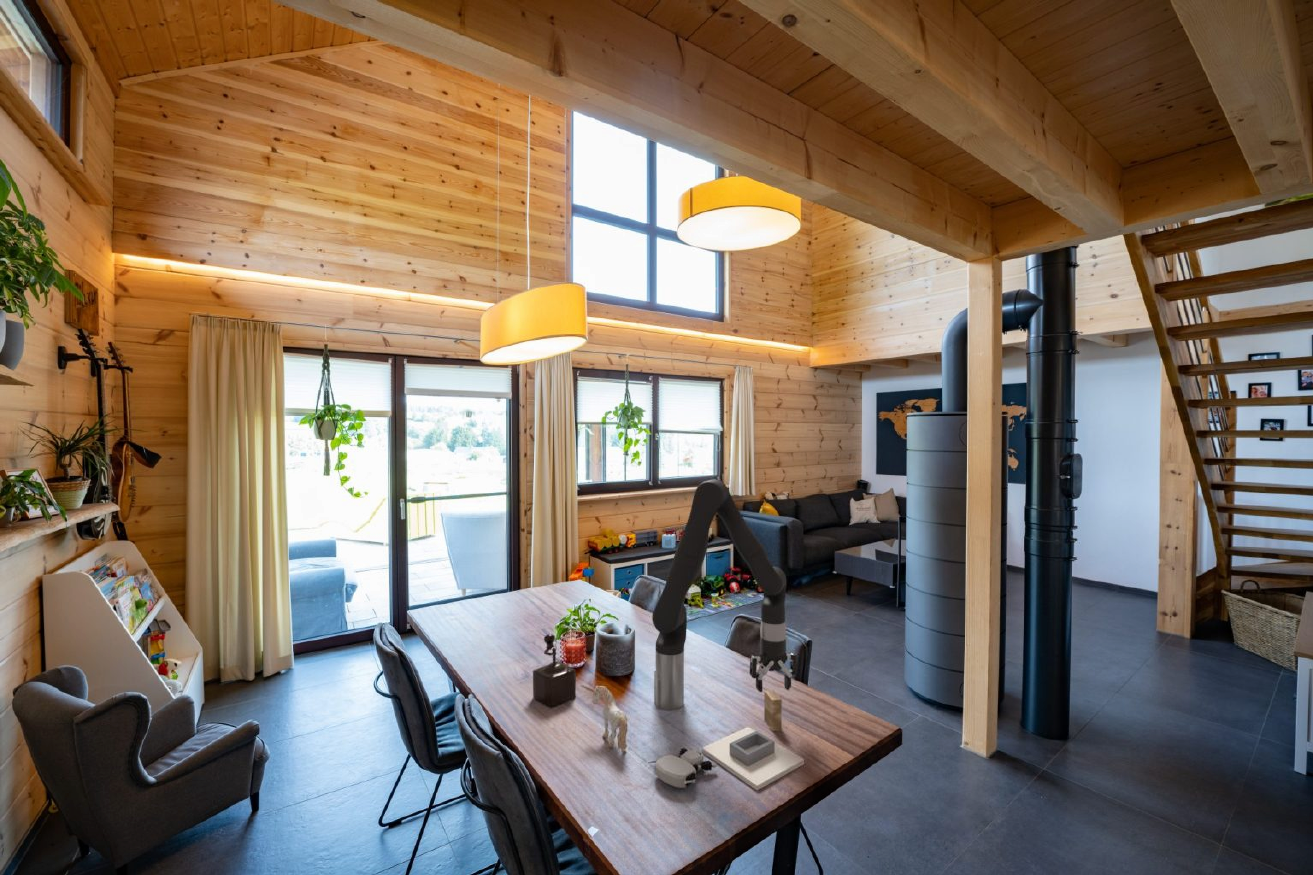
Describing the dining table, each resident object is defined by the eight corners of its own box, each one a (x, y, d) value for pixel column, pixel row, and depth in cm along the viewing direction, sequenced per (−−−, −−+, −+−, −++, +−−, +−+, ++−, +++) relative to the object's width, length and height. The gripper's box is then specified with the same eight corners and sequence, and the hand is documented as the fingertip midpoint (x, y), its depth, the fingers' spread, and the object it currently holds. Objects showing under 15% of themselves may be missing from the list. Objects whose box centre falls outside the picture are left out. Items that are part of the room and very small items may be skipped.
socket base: (757, 790, 131) (757, 773, 131) (702, 752, 147) (702, 736, 147) (803, 763, 142) (803, 748, 142) (748, 730, 158) (748, 716, 158)
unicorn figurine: (599, 721, 163) (599, 677, 163) (642, 749, 149) (642, 700, 149) (580, 730, 158) (580, 685, 158) (622, 759, 144) (622, 709, 144)
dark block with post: (578, 697, 178) (578, 642, 178) (550, 709, 170) (550, 652, 170) (550, 682, 189) (551, 631, 189) (523, 693, 181) (523, 639, 181)
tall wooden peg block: (771, 730, 158) (772, 700, 158) (764, 720, 164) (764, 690, 164) (781, 729, 159) (781, 699, 159) (773, 719, 165) (773, 689, 165)
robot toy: (682, 757, 147) (645, 778, 136) (683, 740, 147) (646, 759, 136) (719, 776, 139) (682, 800, 127) (720, 758, 139) (683, 780, 128)
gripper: (755, 641, 157) (755, 697, 157) (800, 638, 159) (801, 693, 159) (746, 632, 164) (746, 686, 164) (790, 629, 167) (790, 682, 166)
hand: (773, 689), depth 162 cm, fingers open, 8 cm apart
